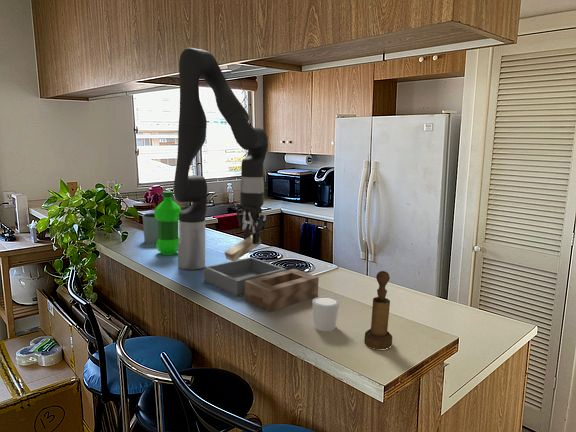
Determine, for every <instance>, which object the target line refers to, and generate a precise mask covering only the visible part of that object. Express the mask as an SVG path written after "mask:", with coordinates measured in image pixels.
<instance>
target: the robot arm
mask: <svg viewBox="0 0 576 432" xmlns="http://www.w3.org/2000/svg"><path fill="white" fill-rule="evenodd" d="M178 73H179V75H178V76H179V77H178V78H179V116H178V117H179V119H178V128H177V129H178V134H177V155H176V156H177V157H176V158H177V159H176V166H175V172H174V173H175V174H174V183H173V196H174V198H175V200H176V201H177V202H179V203H192V204H191V205H190V206H188V207H187V208H185V209H184V210H181V212H180V213H179V220H178V237H179V242H178V251H177V268H178V269H183V270H190V271H192V270H193V271H194V270H200V269H204V267H206V214H207V204H208V202H207V201H208V183H207V179H206V178H205V177H204V176H202V175H189V172H190V169H191V165H192V163H193V160H194V159H195V157H196V156H197V155H198V153H199V151H200V150H201V149H202V147H203V146H204V144H205V141H206V137H207V125H208V124H207V115H206V113H205V111H204V108H203V104H202V103H201V100H200V94H199V84H200V82H199V81H200V80H203V81H204V82H205V83H207V84H208V85H209V87H210V88H211V89H212V91H213V93H214V96H215V102H216V107H217V108H218V111H219V112H220V114H221V116H222V117H223V118H224V120H225V121H226V122H227V124H228V125H229V126H230V129H231V131H232V134H233V137H234V139H235V141H236V143H237V144H238V145H239V146H240V147H241V148H242V149H244V150H245V151H247V155H246V157H245V158H243V159H242V161H241V167H240V168H241V178H240V185H239V186H240V191H239V193H240V194H239V197H240V200H239V201H240V203H239V205H240V206H242V207H241V208H240V209H237V210H236V216H237V222H238V226H239V228H242V231H243V237H242V238H243V240H245V239H246V238H248V237H250V236H251V235H252V242H253V244H258V243H259V237H260V233H261V232H265V230H266V225H267V223H268V222H267V221H268V218H269V216H268V214H264V213H263V211H262V207H263V205H264V200H265V199H264V196H265V195H264V193H265V182H264V164H265V162H264V161H265V159H266V156H267V151H268V145H269V141H268V140H269V139H268V135H267V133H266V131H265V130H264V129H263V128H260V127H252V126H251V125H250V122H249V120H250V115H249V113H248V111H247V110H246V109H245V107H244V106H243V104H242V103H241V102H240V101H239V98H237V96H236V95H235V92H233V90H232V88H231V86H230V85H229V83H228V80H227V79H226V77H225V75H224V73H223V71H222V70H221V67H220V66H219V63H218V61H217V59H216V58H215V56H214V55H213V53H211V52H210V51H208V50H204V49H200V48H194V47H187V48H184V50H183V51H182V52H181V54H180V56H179V59H178ZM251 227H252V228H251ZM251 229H252V234H251Z"/></svg>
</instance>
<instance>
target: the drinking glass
mask: <svg viewBox="0 0 576 432" xmlns="http://www.w3.org/2000/svg"><path fill="white" fill-rule="evenodd" d="M141 216H142V228H143V238H144V243H146V244H151V245H152V244H153V245H154V244H155V245H156V242H157V240H158V220H157V219H156V218H155V215H154V212H150V213H149V212H147V213H144V214H142V215H141Z"/></svg>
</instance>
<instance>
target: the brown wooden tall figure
mask: <svg viewBox="0 0 576 432" xmlns="http://www.w3.org/2000/svg"><path fill="white" fill-rule="evenodd" d="M375 278H376V281H377V283H378V288H377V290H376V292H377V293H376V294H377V296H375V297H373V299H372V307H371V308H372V312H371V320H370V321H371V322H370V328H369V329H368V330H366V331H365V333H364V338H363V339H364V344H366V345H367V346H366V345H365V346H366V347H368V348H369V347H371V348H370V349H372V348H375V349H374V350H376V349H386V348H389V347H390V346H391V345H392V346H393V335H392V334H391V332H389V331H388V327H389V316H390V306H391V301H390V299H389V298H386V296H387V293H388V290H387V289H386V286H387V285H388V283H389V281H390V278H391V277H390V274H389V273H388V271H385V270H381V271H379V272H377V273H376V276H375ZM392 346H391V347H392ZM389 349H390V348H389Z"/></svg>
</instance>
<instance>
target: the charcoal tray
mask: <svg viewBox="0 0 576 432" xmlns="http://www.w3.org/2000/svg"><path fill="white" fill-rule="evenodd" d="M286 270H287V269H286V268H284V267H282V266H278V265H275V264H272V263H270V262H267V261H265V260H261V259H258V258H255V257H252V256H251V257H246V258H245V257H244V258H241V259H240V258H239V259H237V260H236V261H231V260H230V261H227V262H223V263H222V262H221V263H217V264H213V265H206V266H205V267H204V268H203V282H204V283H206V284H208V285H210V286H213V287H215V288H217V289H219V290H221V291H223V292H225V293H227V294H229V295H231V296H234V297H236V298H238V297H242V296H245V281H247V280H251V279H255V278H259V277H263V276H267V275H271V274H274V273H278V272H282V271H286Z"/></svg>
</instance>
